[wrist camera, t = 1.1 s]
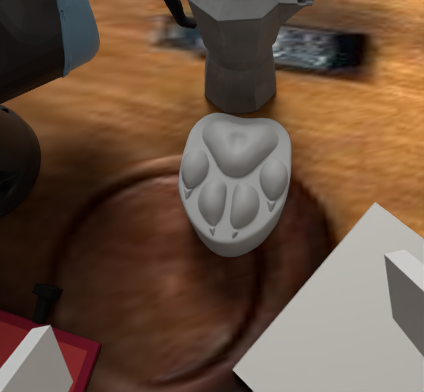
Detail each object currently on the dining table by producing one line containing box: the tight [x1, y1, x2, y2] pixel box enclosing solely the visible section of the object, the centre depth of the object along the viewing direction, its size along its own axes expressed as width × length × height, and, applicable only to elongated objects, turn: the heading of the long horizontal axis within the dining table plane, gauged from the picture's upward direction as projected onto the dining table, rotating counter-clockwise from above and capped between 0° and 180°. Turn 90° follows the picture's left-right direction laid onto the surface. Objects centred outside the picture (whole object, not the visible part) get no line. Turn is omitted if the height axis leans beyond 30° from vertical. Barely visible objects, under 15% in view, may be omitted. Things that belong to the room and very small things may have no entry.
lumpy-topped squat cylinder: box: [178, 113, 292, 257], centre depth 37 cm, size 10×13×9 cm
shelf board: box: [233, 202, 424, 392], centre depth 35 cm, size 20×22×1 cm
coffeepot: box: [164, 0, 313, 114], centre depth 38 cm, size 15×9×18 cm, turn 68°
